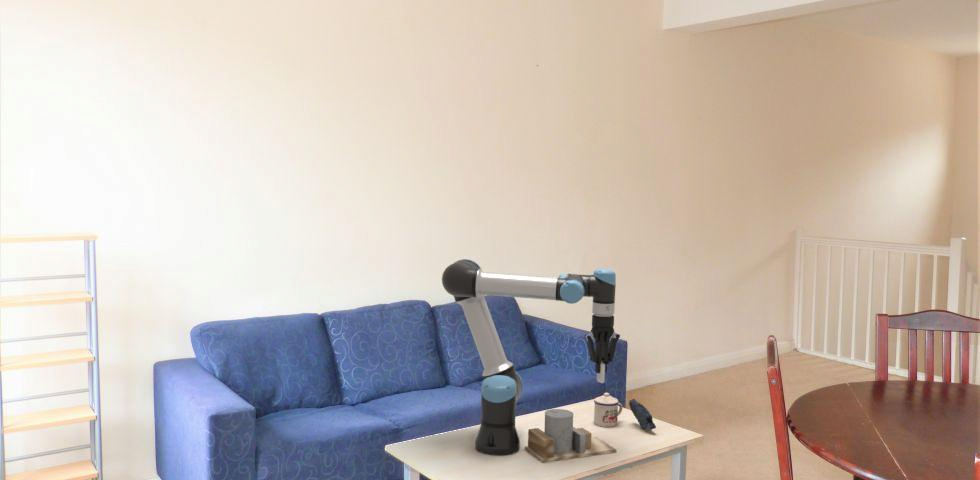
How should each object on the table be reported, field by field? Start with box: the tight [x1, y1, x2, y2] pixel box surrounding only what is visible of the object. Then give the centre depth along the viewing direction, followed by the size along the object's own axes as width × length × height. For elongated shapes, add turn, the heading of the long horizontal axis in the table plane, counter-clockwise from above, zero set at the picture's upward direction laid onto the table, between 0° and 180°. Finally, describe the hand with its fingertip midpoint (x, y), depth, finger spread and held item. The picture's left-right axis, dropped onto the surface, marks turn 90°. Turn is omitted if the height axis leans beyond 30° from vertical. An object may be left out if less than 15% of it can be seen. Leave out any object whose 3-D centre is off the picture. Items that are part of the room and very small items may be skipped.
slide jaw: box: [572, 426, 592, 453], centre depth 262 cm, size 6×12×6 cm, turn 23°
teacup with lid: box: [593, 392, 623, 428], centre depth 290 cm, size 12×9×12 cm
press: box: [524, 427, 617, 463], centre depth 260 cm, size 28×13×7 cm, turn 113°
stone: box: [628, 398, 657, 431], centre depth 285 cm, size 14×6×10 cm, turn 39°
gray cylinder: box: [544, 408, 574, 454], centre depth 258 cm, size 10×10×12 cm
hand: (600, 381), depth 268 cm, fingers closed
